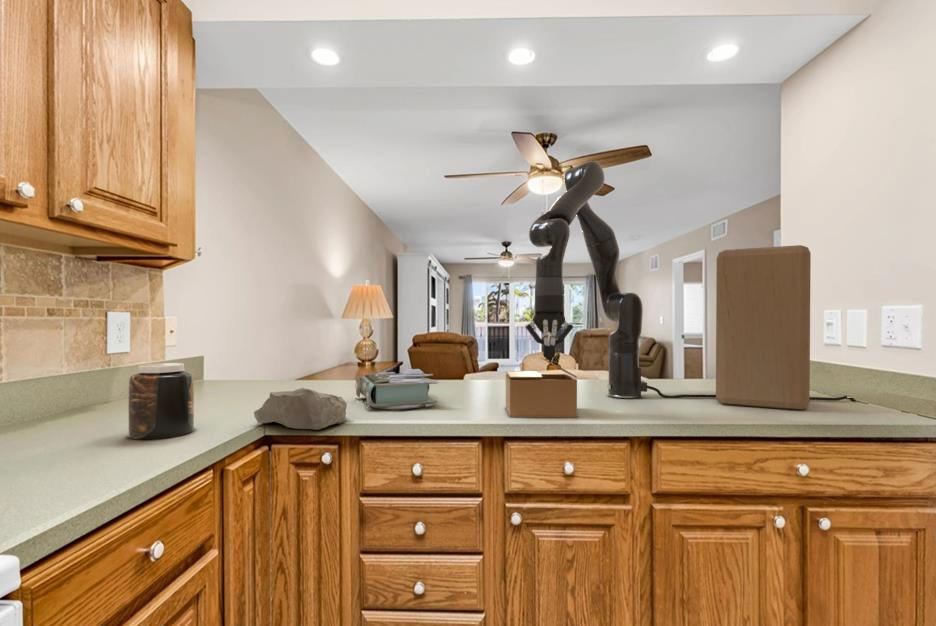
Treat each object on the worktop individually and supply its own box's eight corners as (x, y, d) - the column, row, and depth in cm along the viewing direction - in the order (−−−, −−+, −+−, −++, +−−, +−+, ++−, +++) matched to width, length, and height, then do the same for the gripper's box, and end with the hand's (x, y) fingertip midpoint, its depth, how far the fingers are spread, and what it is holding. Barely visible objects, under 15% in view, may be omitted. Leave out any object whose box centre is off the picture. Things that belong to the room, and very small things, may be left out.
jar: (165, 441, 99) (164, 367, 98) (115, 438, 101) (114, 366, 100) (205, 428, 110) (204, 362, 110) (159, 426, 112) (159, 362, 112)
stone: (239, 431, 108) (321, 434, 104) (238, 388, 108) (320, 389, 104) (285, 415, 126) (356, 417, 122) (284, 378, 126) (356, 379, 122)
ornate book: (353, 400, 154) (366, 413, 126) (353, 369, 155) (366, 376, 126) (422, 396, 162) (449, 408, 134) (421, 367, 162) (448, 373, 134)
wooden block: (810, 412, 129) (811, 243, 128) (715, 405, 140) (716, 249, 140) (801, 400, 148) (802, 253, 148) (718, 394, 160) (719, 258, 159)
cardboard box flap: (565, 372, 136) (566, 371, 136) (576, 378, 123) (577, 376, 123) (539, 357, 136) (540, 356, 136) (547, 361, 123) (548, 360, 123)
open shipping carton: (566, 407, 136) (566, 371, 136) (576, 417, 123) (577, 376, 123) (505, 407, 136) (505, 371, 136) (510, 417, 123) (510, 376, 123)
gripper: (570, 295, 133) (570, 358, 133) (522, 295, 133) (522, 358, 133) (577, 294, 125) (576, 360, 125) (526, 293, 125) (525, 360, 125)
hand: (548, 359), depth 129 cm, fingers closed
